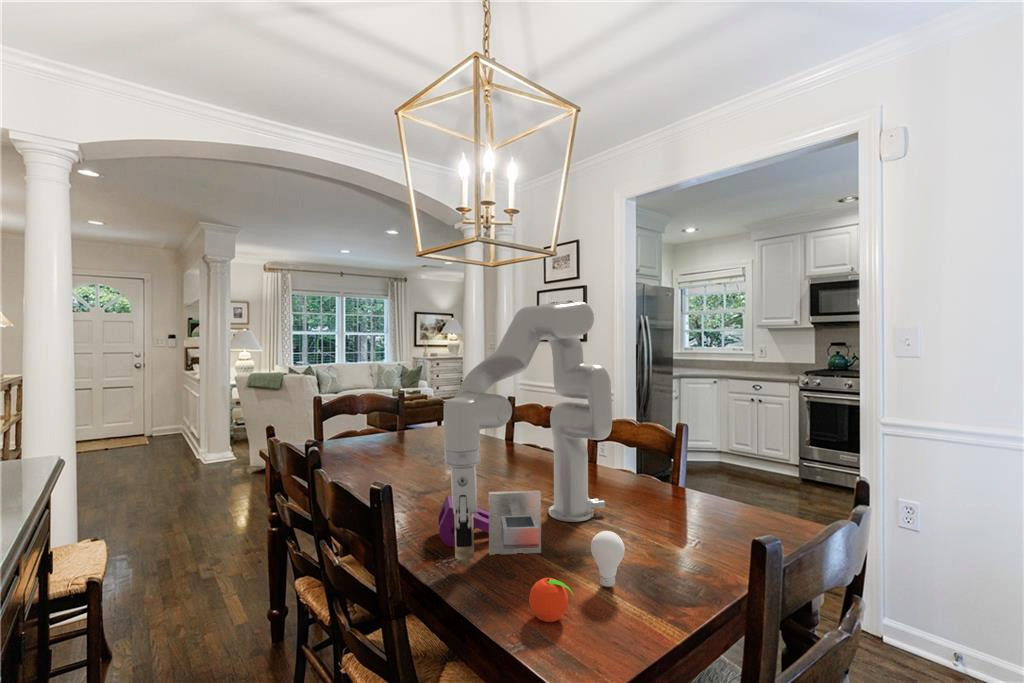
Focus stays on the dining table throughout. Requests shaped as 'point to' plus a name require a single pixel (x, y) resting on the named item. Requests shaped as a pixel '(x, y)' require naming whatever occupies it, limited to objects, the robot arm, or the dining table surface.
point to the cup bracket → (514, 522)
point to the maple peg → (464, 552)
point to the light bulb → (607, 555)
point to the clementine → (549, 599)
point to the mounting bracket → (449, 525)
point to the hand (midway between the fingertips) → (464, 540)
